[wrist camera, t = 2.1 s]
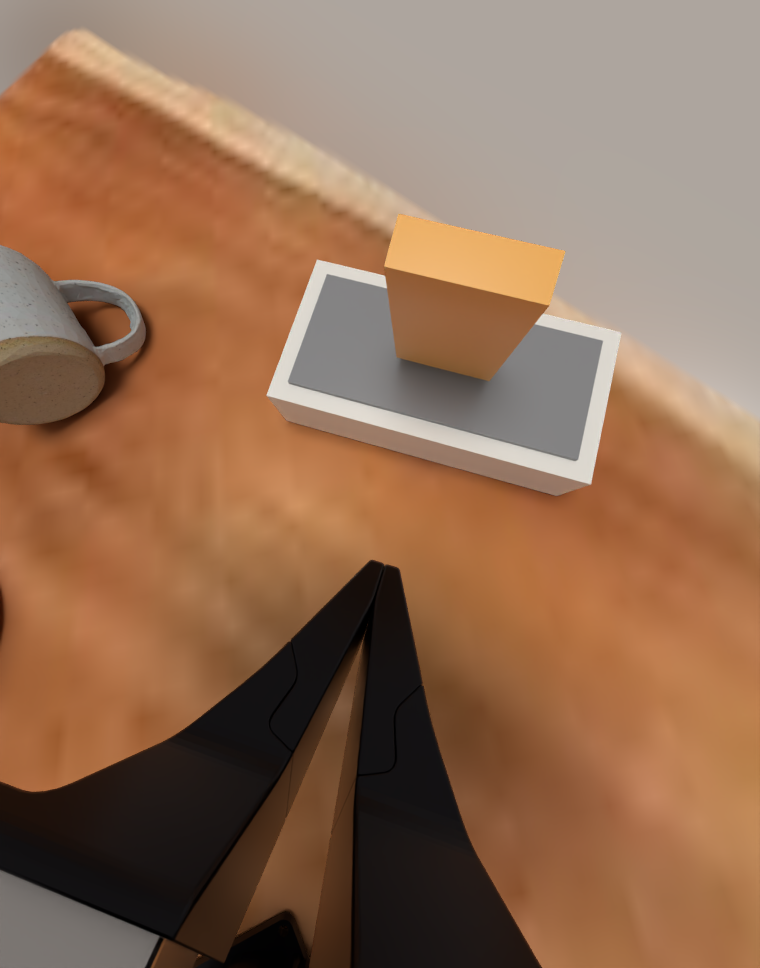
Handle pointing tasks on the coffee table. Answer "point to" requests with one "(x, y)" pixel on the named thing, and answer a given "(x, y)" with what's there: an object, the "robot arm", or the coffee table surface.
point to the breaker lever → (464, 294)
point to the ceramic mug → (52, 343)
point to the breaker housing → (446, 389)
